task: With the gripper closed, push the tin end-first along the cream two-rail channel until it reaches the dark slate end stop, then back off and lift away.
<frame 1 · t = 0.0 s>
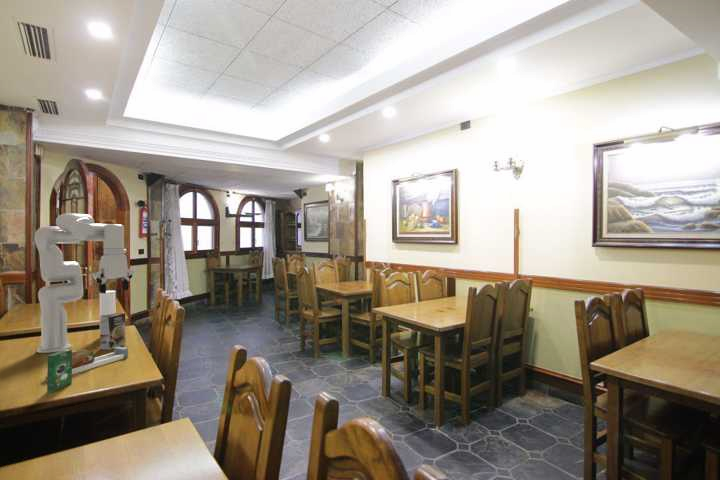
hand: (114, 291, 159), 31 cm above the table, tool pointing down, fingers open, 9 cm apart
cylindrical container: (107, 337, 199), on the table
guide track: (88, 366, 154), on the table
coffee box 2: (60, 388, 133), on the table
coffee box: (113, 347, 181), on the table
tin: (72, 372, 149), resting in guide track
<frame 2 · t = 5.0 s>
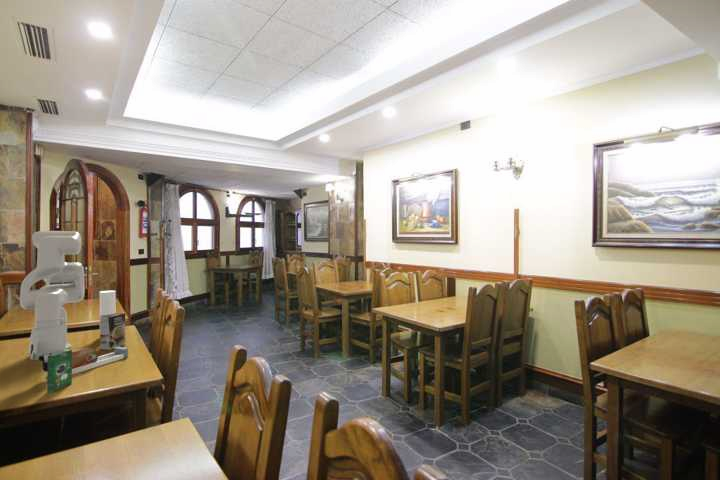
hand: (48, 370, 141), 3 cm above the table, tool pointing down, fingers closed
tin: (75, 371, 150), resting in guide track, touching gripper
everything else where it was.
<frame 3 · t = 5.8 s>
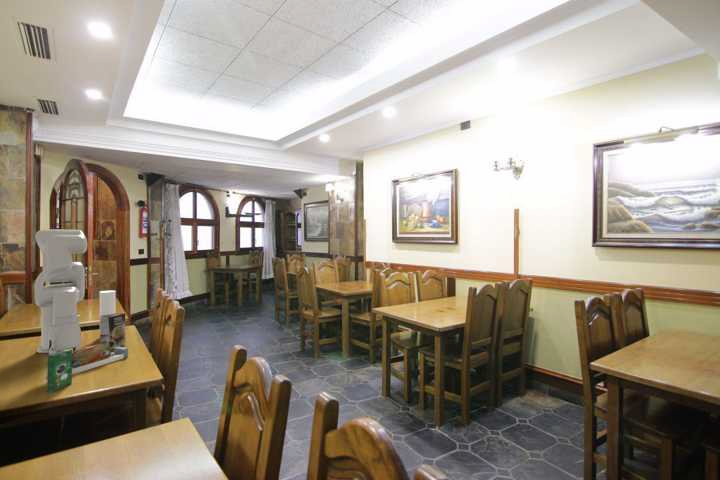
hand: (65, 365, 146), 3 cm above the table, tool pointing down, fingers closed
tin: (90, 366, 155), resting in guide track, touching gripper
everything else where it was.
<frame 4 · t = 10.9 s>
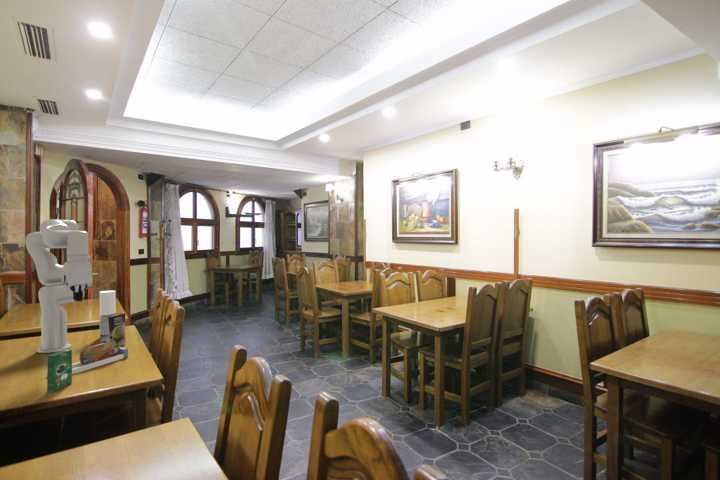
hand: (78, 300, 160), 27 cm above the table, tool pointing down, fingers closed
tin: (100, 363, 159), resting in guide track
everything else where it was.
at the end: tin 0.3 cm from the target spot, resting in guide track; tin tilted 0°; tin moved 11.0 cm from its start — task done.
